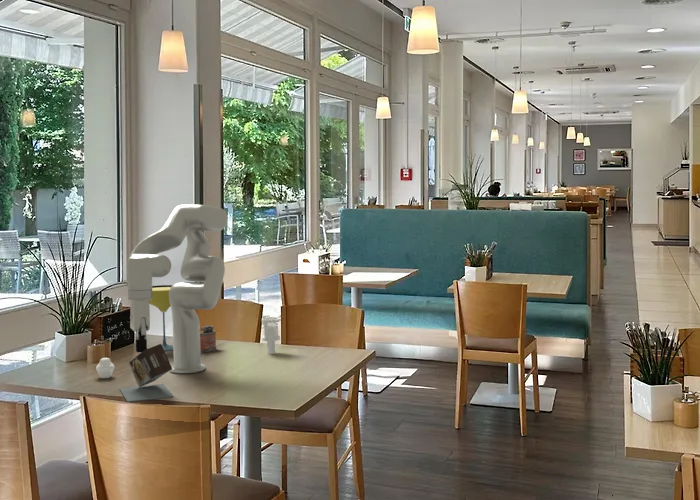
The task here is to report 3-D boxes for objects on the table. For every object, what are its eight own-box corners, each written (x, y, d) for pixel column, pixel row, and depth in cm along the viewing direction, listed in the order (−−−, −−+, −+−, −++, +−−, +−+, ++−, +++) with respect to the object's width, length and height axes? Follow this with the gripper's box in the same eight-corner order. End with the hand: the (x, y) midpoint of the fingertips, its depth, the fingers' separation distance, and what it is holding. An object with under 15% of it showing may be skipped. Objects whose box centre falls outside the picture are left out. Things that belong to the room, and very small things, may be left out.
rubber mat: (119, 389, 248) (119, 388, 248) (163, 384, 254) (163, 383, 254) (127, 402, 233) (127, 401, 233) (173, 396, 239) (173, 395, 239)
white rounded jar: (95, 376, 267) (94, 356, 266) (113, 374, 269) (113, 354, 269) (97, 380, 261) (96, 359, 261) (115, 378, 264) (115, 358, 263)
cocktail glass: (152, 343, 323) (150, 284, 321) (193, 344, 321) (191, 285, 319) (134, 352, 305) (132, 290, 303) (177, 353, 303) (176, 290, 301)
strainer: (268, 350, 306) (267, 313, 305) (283, 352, 303) (282, 314, 302) (258, 354, 300) (258, 316, 299) (274, 355, 297) (273, 317, 296)
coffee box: (127, 362, 250) (142, 349, 238) (145, 355, 254) (161, 342, 242) (138, 388, 249) (154, 376, 237) (156, 380, 253) (173, 368, 241)
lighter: (212, 348, 313) (211, 324, 312) (218, 349, 311) (217, 324, 310) (197, 351, 306) (197, 327, 305) (203, 352, 304) (203, 327, 303)
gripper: (124, 293, 250) (126, 348, 251) (131, 298, 237) (133, 356, 238) (148, 291, 253) (149, 346, 254) (156, 296, 240) (157, 354, 241)
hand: (141, 351), depth 246 cm, fingers closed
